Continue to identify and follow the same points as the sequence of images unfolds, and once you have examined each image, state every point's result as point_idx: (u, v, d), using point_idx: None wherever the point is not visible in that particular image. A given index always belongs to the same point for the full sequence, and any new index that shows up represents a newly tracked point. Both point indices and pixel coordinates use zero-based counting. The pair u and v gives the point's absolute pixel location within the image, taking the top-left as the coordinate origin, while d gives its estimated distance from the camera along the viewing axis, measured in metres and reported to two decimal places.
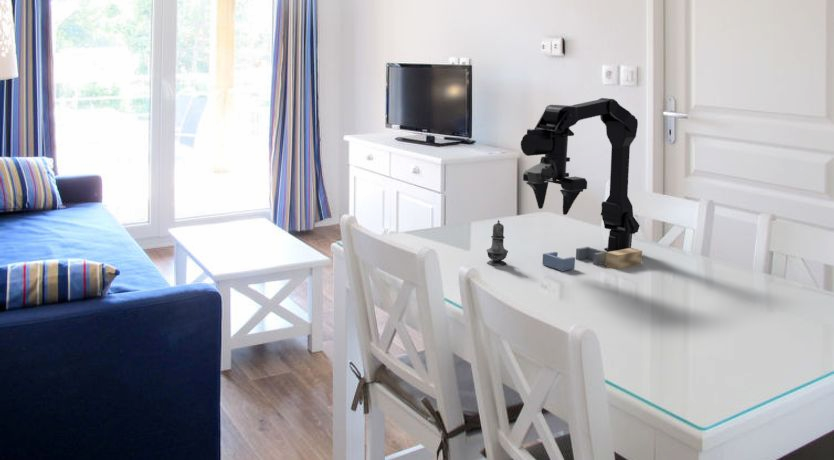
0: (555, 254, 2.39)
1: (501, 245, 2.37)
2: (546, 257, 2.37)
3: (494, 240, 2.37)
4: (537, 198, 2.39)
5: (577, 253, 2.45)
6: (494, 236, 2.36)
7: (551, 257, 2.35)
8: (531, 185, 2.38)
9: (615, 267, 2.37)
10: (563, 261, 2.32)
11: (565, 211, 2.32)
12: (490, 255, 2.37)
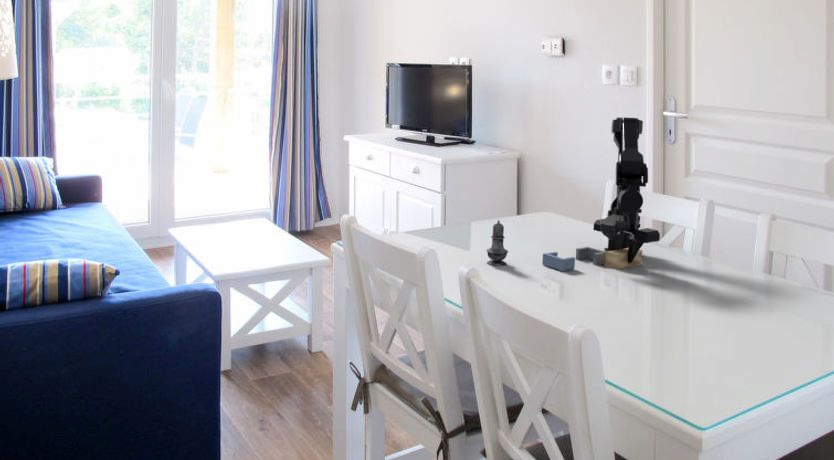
0: (555, 254, 2.39)
1: (501, 245, 2.37)
2: (546, 257, 2.37)
3: (494, 240, 2.37)
4: (614, 249, 2.41)
5: (577, 253, 2.45)
6: (494, 236, 2.36)
7: (551, 257, 2.35)
8: (608, 237, 2.41)
9: (615, 266, 2.37)
10: (563, 261, 2.32)
11: (630, 260, 2.38)
12: (490, 255, 2.37)
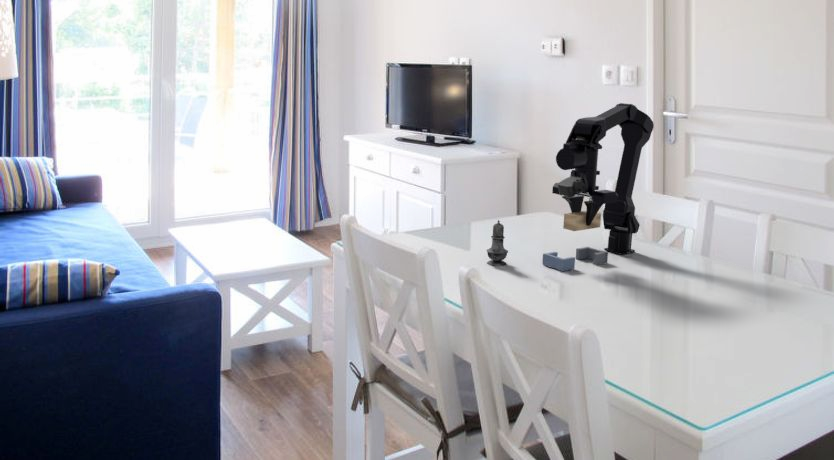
0: (555, 254, 2.39)
1: (501, 245, 2.37)
2: (546, 257, 2.37)
3: (494, 240, 2.37)
4: (573, 212, 2.40)
5: (577, 253, 2.45)
6: (494, 236, 2.36)
7: (551, 257, 2.35)
8: (567, 199, 2.39)
9: (573, 228, 2.35)
10: (563, 261, 2.32)
11: (588, 222, 2.36)
12: (490, 255, 2.37)
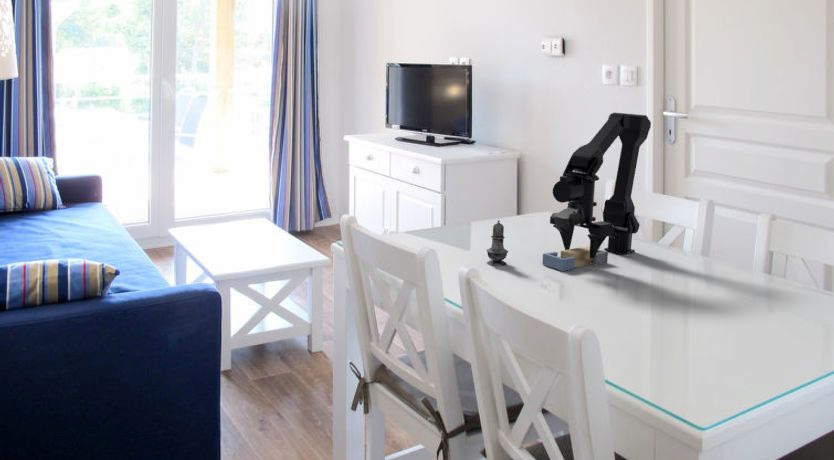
0: (555, 254, 2.39)
1: (501, 245, 2.37)
2: (546, 257, 2.37)
3: (494, 240, 2.37)
4: (564, 241, 2.43)
5: None
6: (494, 236, 2.36)
7: (551, 257, 2.35)
8: (558, 228, 2.43)
9: None
10: (563, 261, 2.32)
11: (592, 255, 2.36)
12: (490, 255, 2.37)
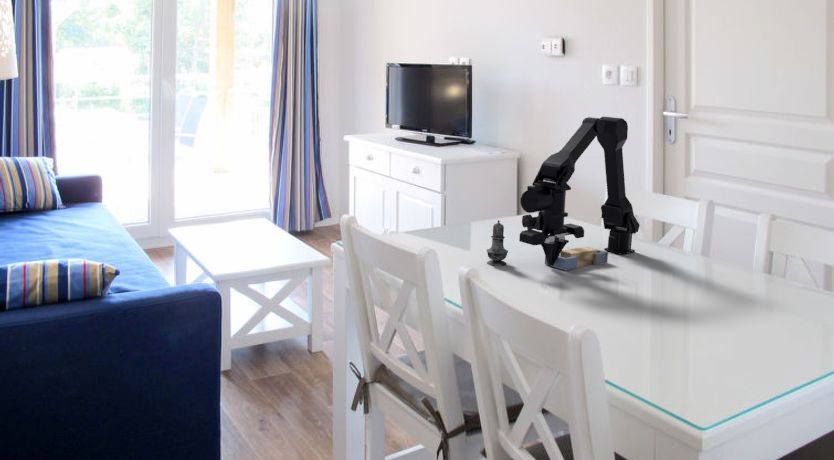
0: None
1: (501, 245, 2.37)
2: None
3: (494, 240, 2.37)
4: None
5: None
6: (494, 236, 2.36)
7: None
8: None
9: None
10: (565, 261, 2.33)
11: (548, 262, 2.35)
12: (490, 255, 2.37)
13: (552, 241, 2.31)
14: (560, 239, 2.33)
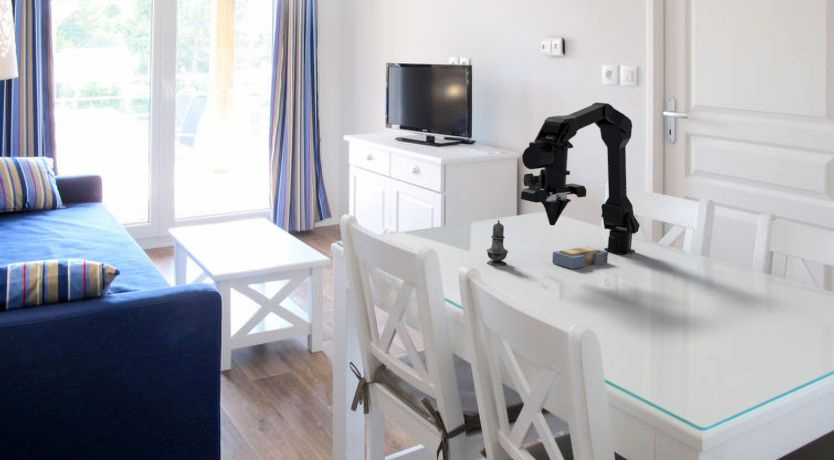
0: None
1: (501, 245, 2.37)
2: (556, 256, 2.39)
3: (494, 240, 2.37)
4: None
5: None
6: (494, 236, 2.36)
7: (561, 255, 2.37)
8: None
9: None
10: (573, 259, 2.34)
11: (549, 221, 2.32)
12: (490, 255, 2.37)
13: (554, 199, 2.28)
14: (562, 198, 2.31)
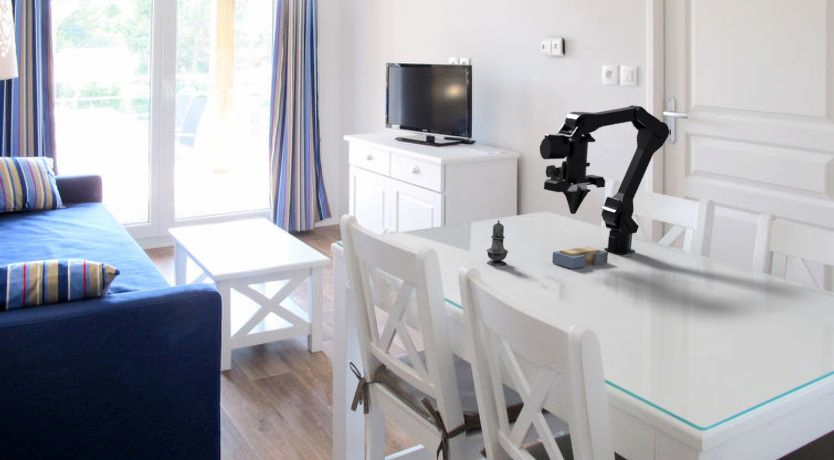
0: None
1: (501, 245, 2.37)
2: (556, 256, 2.39)
3: (494, 240, 2.37)
4: None
5: None
6: (494, 236, 2.36)
7: (561, 255, 2.37)
8: None
9: None
10: (573, 259, 2.34)
11: (570, 210, 2.47)
12: (490, 255, 2.37)
13: (575, 189, 2.43)
14: (582, 188, 2.45)
